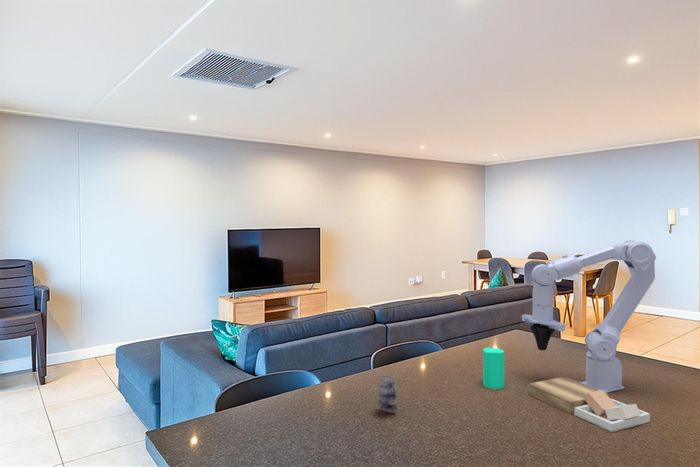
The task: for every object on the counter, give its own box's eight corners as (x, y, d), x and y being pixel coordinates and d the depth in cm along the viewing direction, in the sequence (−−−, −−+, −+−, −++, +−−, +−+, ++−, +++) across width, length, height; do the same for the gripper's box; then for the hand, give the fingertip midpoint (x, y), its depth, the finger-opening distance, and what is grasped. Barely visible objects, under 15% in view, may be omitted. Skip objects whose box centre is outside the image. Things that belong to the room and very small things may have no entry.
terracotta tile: (597, 395, 118) (602, 389, 116) (612, 412, 114) (617, 406, 113) (583, 399, 116) (588, 392, 114) (598, 415, 112) (603, 409, 111)
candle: (505, 389, 130) (505, 348, 130) (484, 388, 132) (484, 347, 131) (502, 382, 136) (503, 342, 136) (482, 380, 137) (482, 341, 137)
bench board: (564, 386, 132) (564, 376, 132) (608, 404, 120) (608, 393, 120) (528, 394, 127) (528, 383, 127) (570, 413, 114) (570, 402, 114)
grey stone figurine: (399, 410, 117) (399, 371, 116) (394, 418, 112) (394, 378, 111) (379, 407, 118) (379, 369, 118) (374, 415, 113) (374, 376, 113)
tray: (611, 406, 119) (611, 398, 119) (649, 421, 110) (650, 413, 109) (574, 415, 113) (574, 407, 113) (611, 432, 104) (611, 424, 104)
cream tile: (636, 404, 108) (640, 415, 108) (618, 405, 113) (622, 416, 112) (622, 407, 106) (626, 418, 106) (604, 409, 111) (608, 419, 110)
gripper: (514, 301, 141) (514, 344, 141) (552, 310, 127) (552, 357, 128) (531, 300, 143) (531, 342, 144) (570, 308, 130) (569, 354, 131)
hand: (542, 349), depth 136 cm, fingers closed
